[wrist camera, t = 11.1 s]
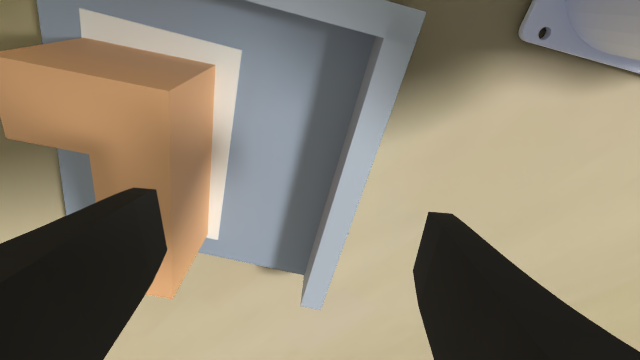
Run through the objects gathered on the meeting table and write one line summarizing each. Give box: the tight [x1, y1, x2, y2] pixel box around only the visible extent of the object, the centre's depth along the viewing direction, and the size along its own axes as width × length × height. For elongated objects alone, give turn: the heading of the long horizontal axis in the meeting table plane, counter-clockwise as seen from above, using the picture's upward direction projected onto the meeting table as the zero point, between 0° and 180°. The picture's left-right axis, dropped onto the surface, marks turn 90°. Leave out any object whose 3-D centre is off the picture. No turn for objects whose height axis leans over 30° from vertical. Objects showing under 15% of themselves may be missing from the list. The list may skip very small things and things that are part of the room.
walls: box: [246, 0, 427, 310], centre depth 17 cm, size 16×16×4 cm
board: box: [36, 0, 376, 275], centre depth 18 cm, size 16×16×1 cm
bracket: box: [0, 38, 216, 299], centre depth 16 cm, size 10×6×5 cm, turn 169°
